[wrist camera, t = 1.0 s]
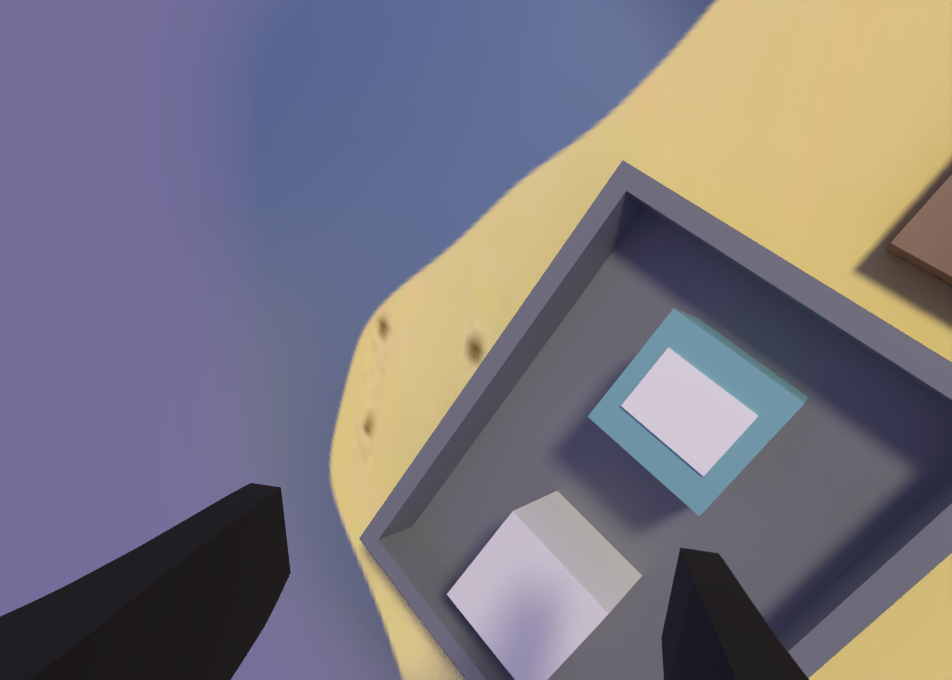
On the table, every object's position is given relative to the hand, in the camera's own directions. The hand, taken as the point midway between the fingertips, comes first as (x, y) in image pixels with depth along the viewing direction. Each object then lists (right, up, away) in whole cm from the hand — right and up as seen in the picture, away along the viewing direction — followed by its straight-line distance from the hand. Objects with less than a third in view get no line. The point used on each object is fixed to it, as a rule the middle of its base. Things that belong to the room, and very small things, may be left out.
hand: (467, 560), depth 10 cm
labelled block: (+9, +2, +11) cm, 14 cm away
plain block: (+4, -5, +13) cm, 15 cm away
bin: (+7, -2, +12) cm, 14 cm away
